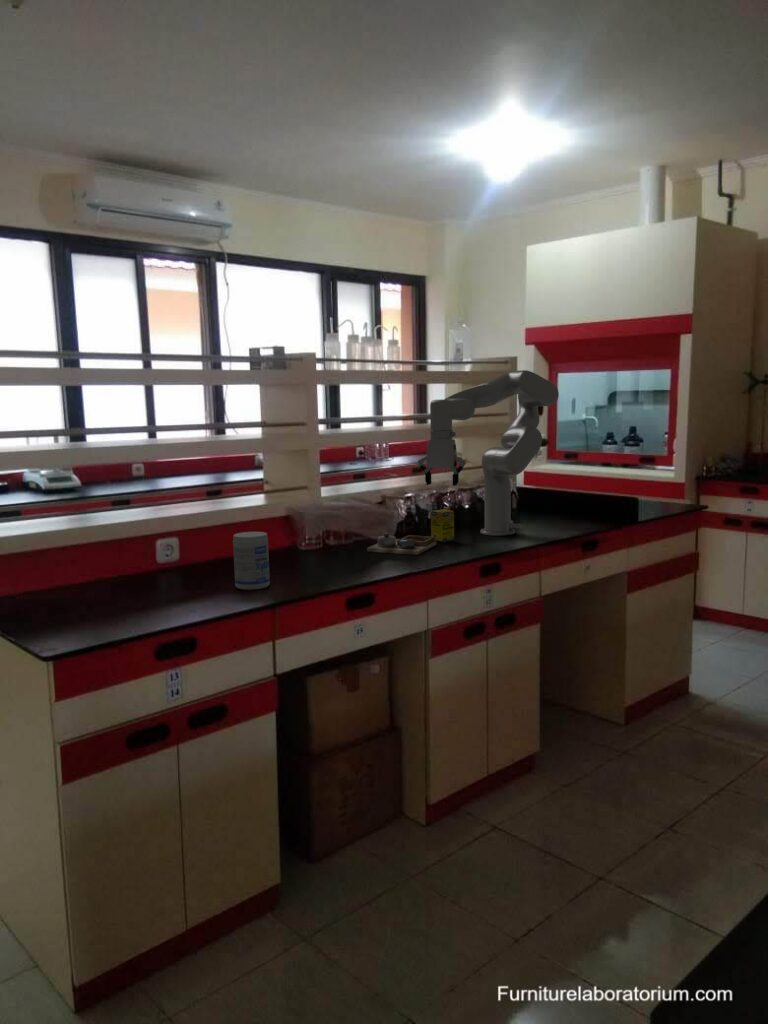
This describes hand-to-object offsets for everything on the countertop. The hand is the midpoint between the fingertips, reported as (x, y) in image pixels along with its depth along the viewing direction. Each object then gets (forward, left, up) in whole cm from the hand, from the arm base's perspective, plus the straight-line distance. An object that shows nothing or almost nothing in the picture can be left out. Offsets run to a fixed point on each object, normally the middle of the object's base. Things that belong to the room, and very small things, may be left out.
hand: (441, 484), depth 272 cm
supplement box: (0, 0, -20) cm, 20 cm away
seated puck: (+5, +20, -19) cm, 28 cm away
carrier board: (+9, +15, -20) cm, 27 cm away
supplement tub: (+28, +78, -20) cm, 85 cm away
